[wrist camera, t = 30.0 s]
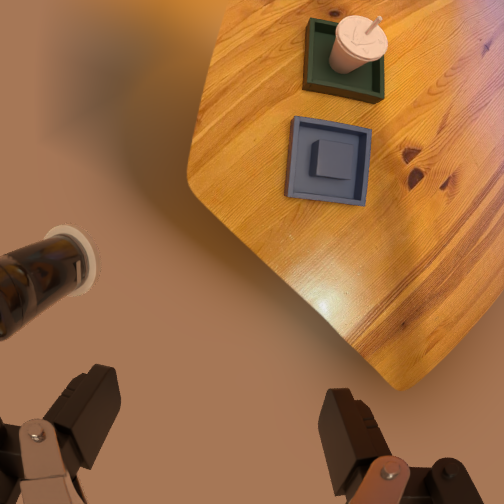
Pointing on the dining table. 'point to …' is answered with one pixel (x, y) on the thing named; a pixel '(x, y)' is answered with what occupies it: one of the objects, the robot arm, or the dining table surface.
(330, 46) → the green bin
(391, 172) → the dining table surface
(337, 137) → the blue bin
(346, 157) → the blue block
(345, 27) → the smoothie
